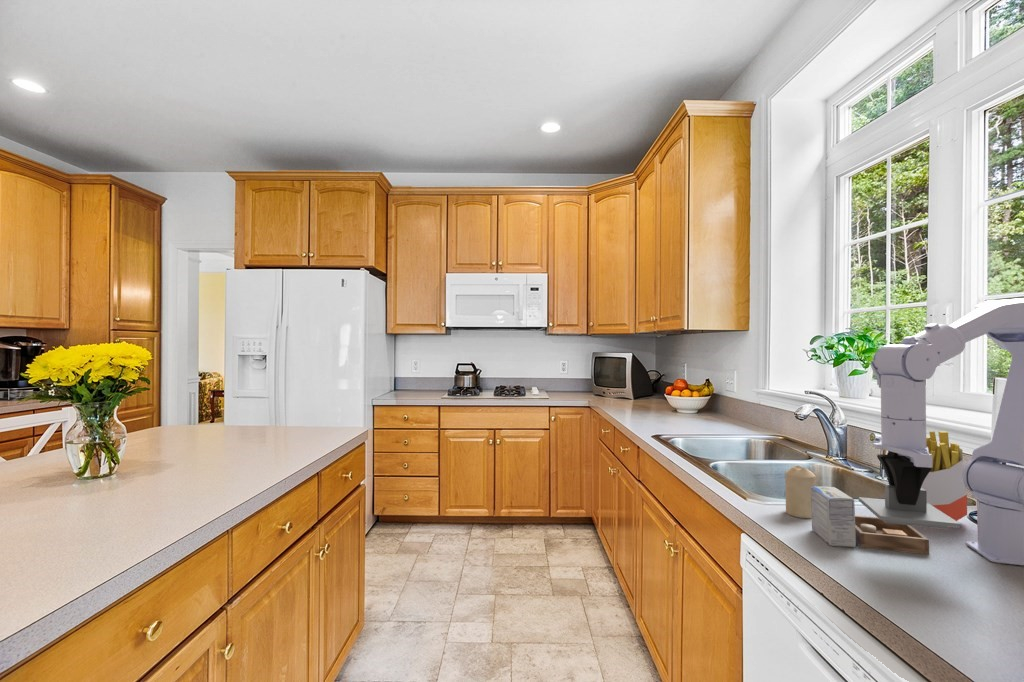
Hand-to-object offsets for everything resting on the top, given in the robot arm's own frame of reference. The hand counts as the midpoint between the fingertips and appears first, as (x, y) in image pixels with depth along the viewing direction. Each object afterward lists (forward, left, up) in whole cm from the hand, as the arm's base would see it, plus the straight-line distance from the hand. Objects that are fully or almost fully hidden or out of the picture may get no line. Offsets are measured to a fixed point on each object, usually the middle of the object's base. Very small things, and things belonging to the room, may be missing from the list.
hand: (904, 501), depth 79 cm
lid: (0, 0, -2) cm, 2 cm away
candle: (+10, -23, -11) cm, 27 cm away
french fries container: (-14, -27, -11) cm, 32 cm away
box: (-1, -12, -11) cm, 16 cm away
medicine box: (+8, -10, -11) cm, 16 cm away
